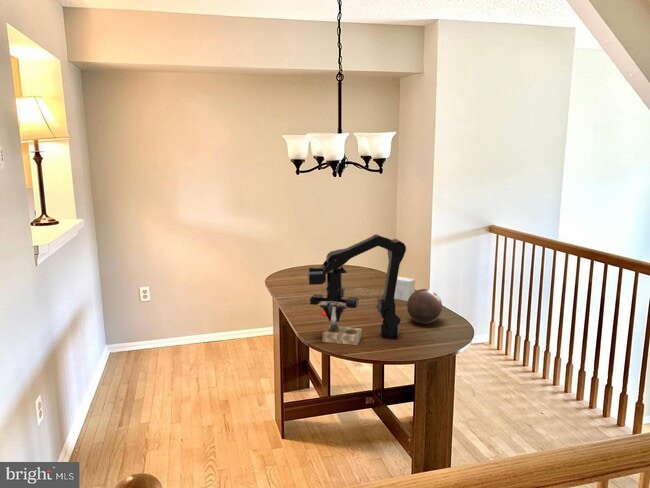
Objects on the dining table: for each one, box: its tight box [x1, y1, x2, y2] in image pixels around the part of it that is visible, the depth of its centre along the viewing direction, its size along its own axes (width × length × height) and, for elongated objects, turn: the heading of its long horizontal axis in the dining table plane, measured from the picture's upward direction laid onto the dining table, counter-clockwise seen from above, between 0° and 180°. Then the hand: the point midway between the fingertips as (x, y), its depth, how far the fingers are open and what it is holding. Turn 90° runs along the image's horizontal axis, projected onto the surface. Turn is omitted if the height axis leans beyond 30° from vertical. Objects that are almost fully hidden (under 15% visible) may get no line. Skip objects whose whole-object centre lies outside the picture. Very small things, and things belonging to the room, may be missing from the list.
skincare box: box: [394, 276, 416, 302], centre depth 245 cm, size 10×6×10 cm, turn 54°
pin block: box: [322, 324, 363, 346], centre depth 192 cm, size 14×9×4 cm, turn 74°
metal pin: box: [330, 303, 339, 330], centre depth 192 cm, size 3×3×10 cm
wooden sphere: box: [406, 288, 443, 325], centre depth 210 cm, size 15×15×15 cm
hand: (334, 321), depth 192 cm, fingers closed on metal pin, 3 cm apart
